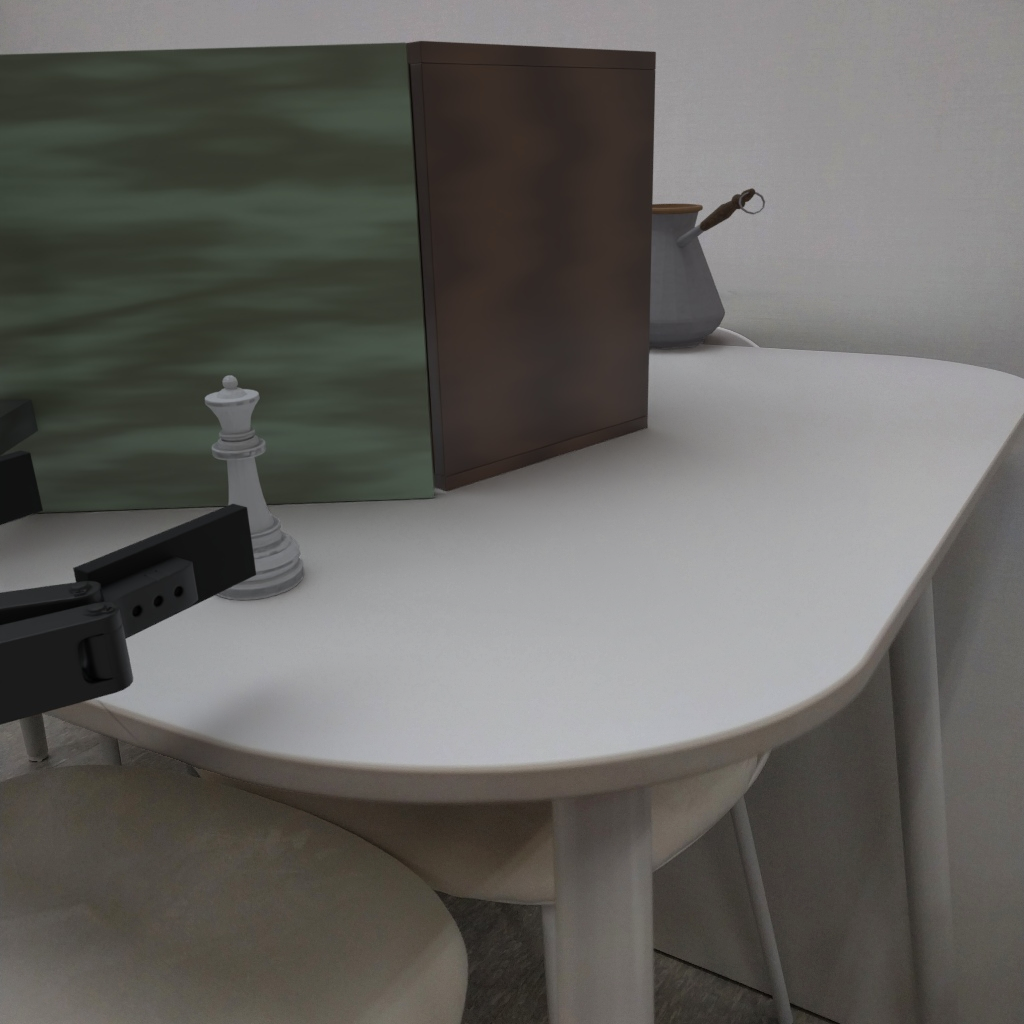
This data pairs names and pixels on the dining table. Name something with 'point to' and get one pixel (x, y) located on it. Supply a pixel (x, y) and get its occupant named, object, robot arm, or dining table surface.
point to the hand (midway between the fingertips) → (129, 507)
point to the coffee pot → (685, 274)
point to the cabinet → (532, 248)
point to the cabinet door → (212, 273)
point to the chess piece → (252, 496)
